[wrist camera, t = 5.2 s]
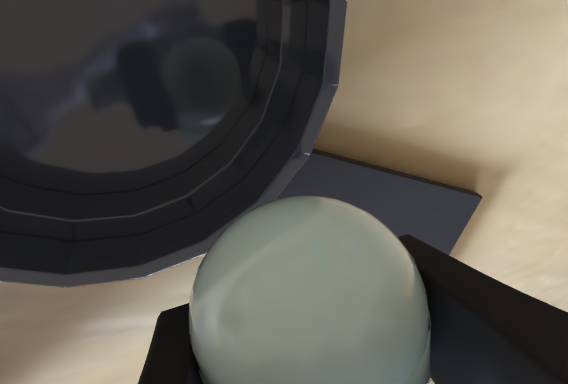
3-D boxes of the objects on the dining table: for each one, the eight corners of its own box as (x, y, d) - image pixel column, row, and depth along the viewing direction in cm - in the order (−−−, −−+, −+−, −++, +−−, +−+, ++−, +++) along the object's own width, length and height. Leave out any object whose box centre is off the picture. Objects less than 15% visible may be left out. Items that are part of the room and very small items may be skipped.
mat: (388, 345, 25) (392, 351, 24) (219, 332, 21) (221, 340, 20) (476, 192, 21) (483, 197, 21) (292, 143, 17) (296, 147, 17)
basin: (231, 243, 19) (249, 306, 15) (-206, 174, 13) (-327, 249, 10) (364, -126, 14) (436, -155, 10) (-252, -480, 8) (-535, -791, 5)
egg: (375, 333, 12) (473, 495, 9) (225, 385, 12) (261, 585, 8) (358, 135, 9) (499, 254, 6) (152, 191, 9) (156, 370, 5)
